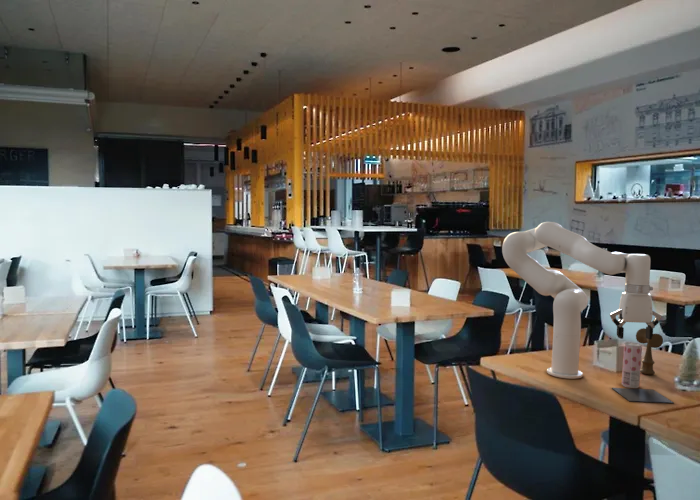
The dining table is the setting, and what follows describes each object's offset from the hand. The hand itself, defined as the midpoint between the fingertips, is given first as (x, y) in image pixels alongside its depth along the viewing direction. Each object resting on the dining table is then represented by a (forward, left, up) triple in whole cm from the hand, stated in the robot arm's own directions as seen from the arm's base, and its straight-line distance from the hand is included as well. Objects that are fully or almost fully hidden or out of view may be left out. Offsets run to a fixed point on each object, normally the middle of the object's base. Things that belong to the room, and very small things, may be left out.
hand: (634, 338), depth 206 cm
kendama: (-18, +14, -17) cm, 29 cm away
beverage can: (0, 0, -17) cm, 17 cm away
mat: (+11, -1, -17) cm, 20 cm away
